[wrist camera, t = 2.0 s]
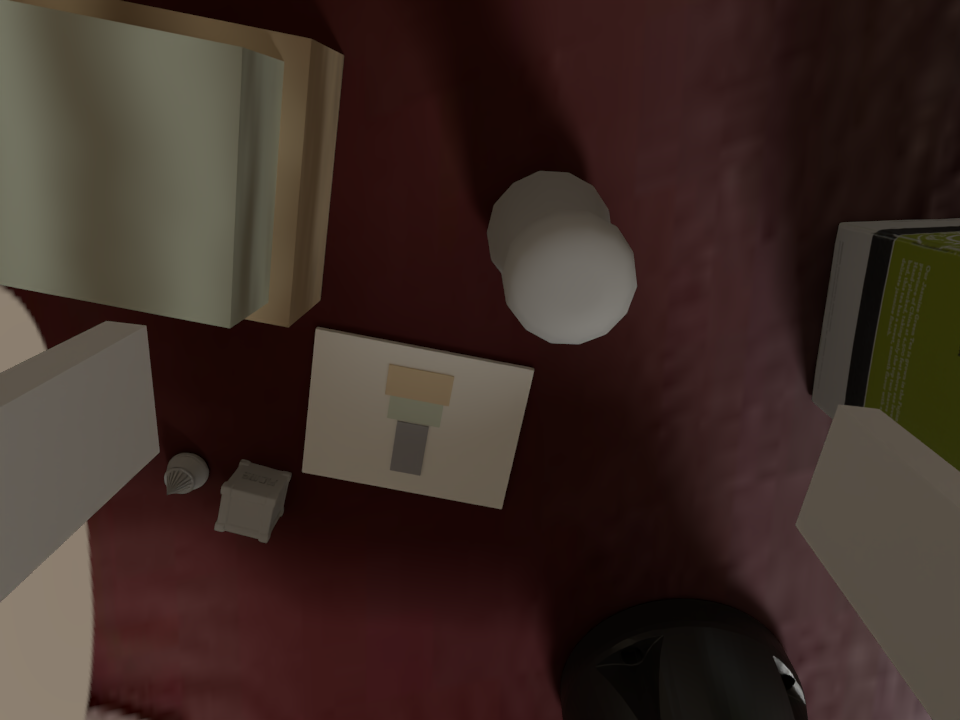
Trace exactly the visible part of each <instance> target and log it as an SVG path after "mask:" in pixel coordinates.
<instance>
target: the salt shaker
mask: <svg viewBox="0 0 960 720" xmlns="http://www.w3.org/2000/svg"><path fill="white" fill-rule="evenodd" d="M487 237H488V243H489V249H490V256H491V260H492V262H493V263H494V264H495V266H496V267H497V268H498V270H499V271H500V272H501V274H502V280H503V287H504V293H505V299H506V304H507V305H508V307H509V308H510V309H511V311H512V312H513V313H514V315H515V316H516V317H517V319H518V320H519V321H520V323H521V324H522V325H523V327H524V328H525V329H526V330H527V331H529V332H531V333H533V334H535V335H537V336H538V337H540V338H542V339H544V340H546V341H548V342H549V343H558V344H581V343H584V342H587V341H589V340H592V339H595V338H598V337H600V336H603V335H606V334H607V333H608V332H609V331H610V330H611V329H612V328H613V327H614V326H615V325H616V324H617V323H618V322H619V321H620V320H621V319H622V318H623V317H624V316H625V315H626V314H627V311H628V309H629V306H630V303H631V301H632V298H633V296H634V293H635V290H636V288H637V281H636V272H635V263H634V255H633V251H632V249H631V248H630V246H629V245H628V243H627V242H626V240H625V238H624V237H623V235H622V234H621V232H620V231H619V229H618V227H616V226H615V225H613V224H611V223H610V216H609V210H608V208H607V207H606V205H605V204H604V202H603V200H602V199H601V197H600V196H599V194H598V193H597V191H596V190H595V188H594V186H592V185H590V184H588V183H587V182H585V181H583V180H581V179H579V178H578V177H576V176H574V175H572V174H571V173H569V172H551V171H538V172H536V173H534V174H532V175H529V176H527V177H525V178H523V179H521V180H519V181H517V182H514V183H513V184H512V185H511V186H510V187H509V188H508V189H507V191H506V192H505V193H504V194H503V195H502V196H501V197H500V198H499V200H498V201H497V202H496V203H495V204H494V206H493V210H492V214H491V218H490V222H489V226H488V230H487Z"/></svg>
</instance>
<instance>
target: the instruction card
mask: <svg viewBox="0 0 960 720" xmlns="http://www.w3.org/2000/svg"><path fill="white" fill-rule="evenodd" d="M533 374H534V368H531V367H526V366H521V365H516V364H510V363H505V362H500V361H495V360H490V359H484V358H479V357H474V356H469V355H463V354H458V353H453V352H448V351H442V350H437V349H432V348H427V347H421V346H416V345H411V344H406V343H401V342H395V341H390V340H385V339H380V338H374V337H369V336H364V335H359V334H353V333H348V332H343V331H338V330H333V329H327V328H322V327H317V328H316V331H315V341H314V351H313V362H312V372H311V383H310V393H309V404H308V414H307V424H306V435H305V445H304V456H303V466H302V472H303V473H309V474H314V475H319V476H325V477H330V478H336V479H341V480H346V481H352V482H357V483H362V484H368V485H373V486H379V487H384V488H389V489H395V490H400V491H405V492H411V493H416V494H422V495H427V496H432V497H438V498H443V499H449V500H454V501H459V502H465V503H470V504H475V505H481V506H486V507H492V508H497V509H502V506H503V502H504V498H505V493H506V489H507V485H508V481H509V476H510V472H511V468H512V464H513V459H514V455H515V451H516V446H517V442H518V438H519V434H520V429H521V425H522V421H523V416H524V412H525V408H526V404H527V399H528V395H529V391H530V387H531V382H532V378H533Z"/></svg>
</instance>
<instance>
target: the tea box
mask: <svg viewBox="0 0 960 720" xmlns="http://www.w3.org/2000/svg"><path fill="white" fill-rule="evenodd" d="M812 401H813V402H814V403H815V404H816V405H817V406H818V407H819V408H821V409H822V410H823V411H824V412H825V413H826V414H827V415H828V416H830V417H831V418H832V419H834V416H835V413H836V410H837V407H838V405H848V406H857V407H866V408H875V409H880V410H881V411H882V412H884V413H885V414H886V415H888V416H889V417H890V418H891V419H893V420H894V421H895V422H896V423H898V424H899V425H900V426H902V427H903V428H904V429H905V430H907V431H908V432H909V433H911V434H912V435H913V436H914V437H916V438H917V439H918V440H920V441H921V442H922V443H923V444H925V445H926V446H927V447H929V448H930V449H931V450H932V451H934V452H935V453H936V454H938V455H939V456H940V457H941V458H943V459H944V460H945V461H947V462H948V463H949V464H950V465H952V466H953V467H954V468H956V469H957V470H958V471H959V472H960V218H952V219H924V220H890V221H866V222H842V223H840V224H839V226H838V232H837V237H836V242H835V247H834V254H833V261H832V268H831V274H830V280H829V287H828V293H827V300H826V306H825V312H824V319H823V325H822V332H821V338H820V344H819V351H818V357H817V363H816V371H815V378H814V386H813V395H812Z"/></svg>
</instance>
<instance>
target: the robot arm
mask: <svg viewBox="0 0 960 720" xmlns="http://www.w3.org/2000/svg"><path fill="white" fill-rule="evenodd" d="M159 452H160V450H159V440H158V431H157V421H156V412H155V402H154V393H153V383H152V374H151V364H150V355H149V345H148V336H147V326H146V325H138V324H129V323H120V322H111V321H105V322H103V323H101V324H99V325H97V326H95V327H93V328H91V329H89V330H87V331H85V332H83V333H81V334H79V335H77V336H75V337H73V338H71V339H69V340H67V341H65V342H63V343H61V344H58V345H56V346H54V347H52V348H50V349H48V350H46V351H44V352H42V353H40V354H38V355H36V356H34V357H32V358H30V359H28V360H26V361H24V362H22V363H20V364H18V365H16V366H14V367H12V368H10V369H8V370H6V371H4V372H2V373H0V602H1V601H2V600H3V599H4V598H5V597H6V596H7V595H9V594H10V593H11V592H12V591H13V590H14V589H15V588H16V587H17V586H18V585H19V584H20V583H21V582H22V581H23V580H25V579H26V578H27V577H28V576H29V575H30V574H31V573H32V572H33V571H34V570H35V569H36V568H37V567H38V566H39V565H40V564H41V563H42V562H44V561H45V560H46V559H47V558H48V557H49V556H50V555H51V554H52V553H53V552H54V551H55V550H56V549H57V548H58V547H60V546H61V545H62V544H63V543H64V542H65V541H66V540H67V539H68V538H69V537H70V536H71V535H72V534H73V533H74V532H75V531H77V530H78V529H79V528H80V527H81V526H82V525H83V524H84V523H85V522H86V521H87V520H88V519H89V518H90V517H91V516H92V515H94V514H95V513H96V512H97V511H98V510H99V509H100V508H101V507H102V506H103V505H104V504H105V503H106V502H107V501H108V500H109V499H110V498H112V497H113V496H114V495H115V494H116V493H117V492H118V491H119V490H120V489H121V488H122V487H123V486H124V485H125V484H126V483H127V482H129V481H130V480H131V479H132V478H133V477H134V476H135V475H136V474H137V473H138V472H139V471H140V470H141V469H142V468H143V467H144V466H146V465H147V464H148V463H149V462H150V461H151V460H152V459H153V458H154V457H155V456H156V455H157V454H158V453H159ZM795 526H796V527H797V528H798V530H799V531H800V533H801V534H802V535H803V537H804V538H805V540H806V541H807V543H808V544H809V545H810V547H811V548H812V550H813V551H814V552H815V554H816V555H817V557H818V558H819V560H820V561H821V562H822V564H823V565H824V567H825V568H826V569H827V571H828V572H829V574H830V575H831V577H832V578H833V579H834V581H835V582H836V584H837V585H838V586H839V588H840V589H841V591H842V592H843V594H844V595H845V596H846V598H847V599H848V601H849V602H850V603H851V605H852V606H853V608H854V609H855V611H856V612H857V613H858V615H859V616H860V618H861V619H862V620H863V622H864V623H865V625H866V626H867V628H868V629H869V630H870V632H871V633H872V635H873V636H874V637H875V639H876V640H877V642H878V643H879V645H880V646H881V647H882V649H883V650H884V652H885V653H886V654H887V656H888V657H889V659H890V660H891V662H892V663H893V664H894V666H895V667H896V669H897V670H898V671H899V673H900V674H901V676H902V677H903V679H904V680H905V681H906V683H907V684H908V686H909V687H910V688H911V690H912V691H913V693H914V694H915V696H916V697H917V698H918V700H919V701H920V703H921V704H922V705H923V707H924V708H925V710H926V711H927V713H928V714H929V715H930V717H931V718H932V720H960V472H959V471H958V470H957V469H956V468H954V467H953V466H952V465H950V464H949V463H948V462H947V461H945V460H944V459H943V458H941V457H940V456H939V455H938V454H936V453H935V452H934V451H932V450H931V449H930V448H929V447H927V446H926V445H925V444H923V443H922V442H921V441H920V440H918V439H917V438H916V437H914V436H913V435H912V434H911V433H909V432H908V431H907V430H905V429H904V428H903V427H902V426H900V425H899V424H898V423H896V422H895V421H894V420H893V419H891V418H890V417H889V416H888V415H886V414H885V413H884V412H882V411H881V410H880V409H875V408H866V407H857V406H848V405H838V407H837V410H836V413H835V416H834V419H833V421H832V424H831V427H830V430H829V432H828V435H827V438H826V441H825V444H824V446H823V449H822V452H821V455H820V458H819V460H818V463H817V466H816V469H815V472H814V474H813V477H812V480H811V483H810V486H809V488H808V491H807V494H806V497H805V500H804V502H803V505H802V508H801V511H800V513H799V516H798V519H797V522H796V525H795ZM560 695H561V706H562V716H563V720H808V716H807V708H806V702H805V696H804V692H803V689H802V685H801V683H800V680H799V678H798V675H797V673H796V672H795V670H794V668H793V666H792V664H791V662H790V660H789V658H788V657H787V655H786V653H785V651H784V649H783V647H782V646H781V644H780V643H779V641H778V640H777V638H776V637H775V636H774V635H773V634H772V633H771V632H770V631H769V630H768V629H767V628H766V627H765V626H764V625H763V624H761V623H760V622H759V621H757V620H756V619H754V618H752V617H751V616H749V615H747V614H745V613H743V612H741V611H739V610H737V609H734V608H732V607H729V606H726V605H722V604H719V603H714V602H710V601H703V600H694V599H671V600H662V601H655V602H650V603H646V604H642V605H638V606H635V607H632V608H629V609H627V610H624V611H622V612H620V613H617V614H615V615H613V616H611V617H610V618H608V619H606V620H605V621H603V622H602V623H600V624H599V625H597V626H596V627H595V628H593V629H592V630H591V631H590V632H589V633H587V634H586V635H585V636H584V637H583V638H582V639H581V641H580V642H579V643H578V644H577V645H576V647H575V648H574V650H573V651H572V653H571V654H570V656H569V658H568V660H567V662H566V664H565V667H564V670H563V673H562V677H561V685H560Z"/></svg>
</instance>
